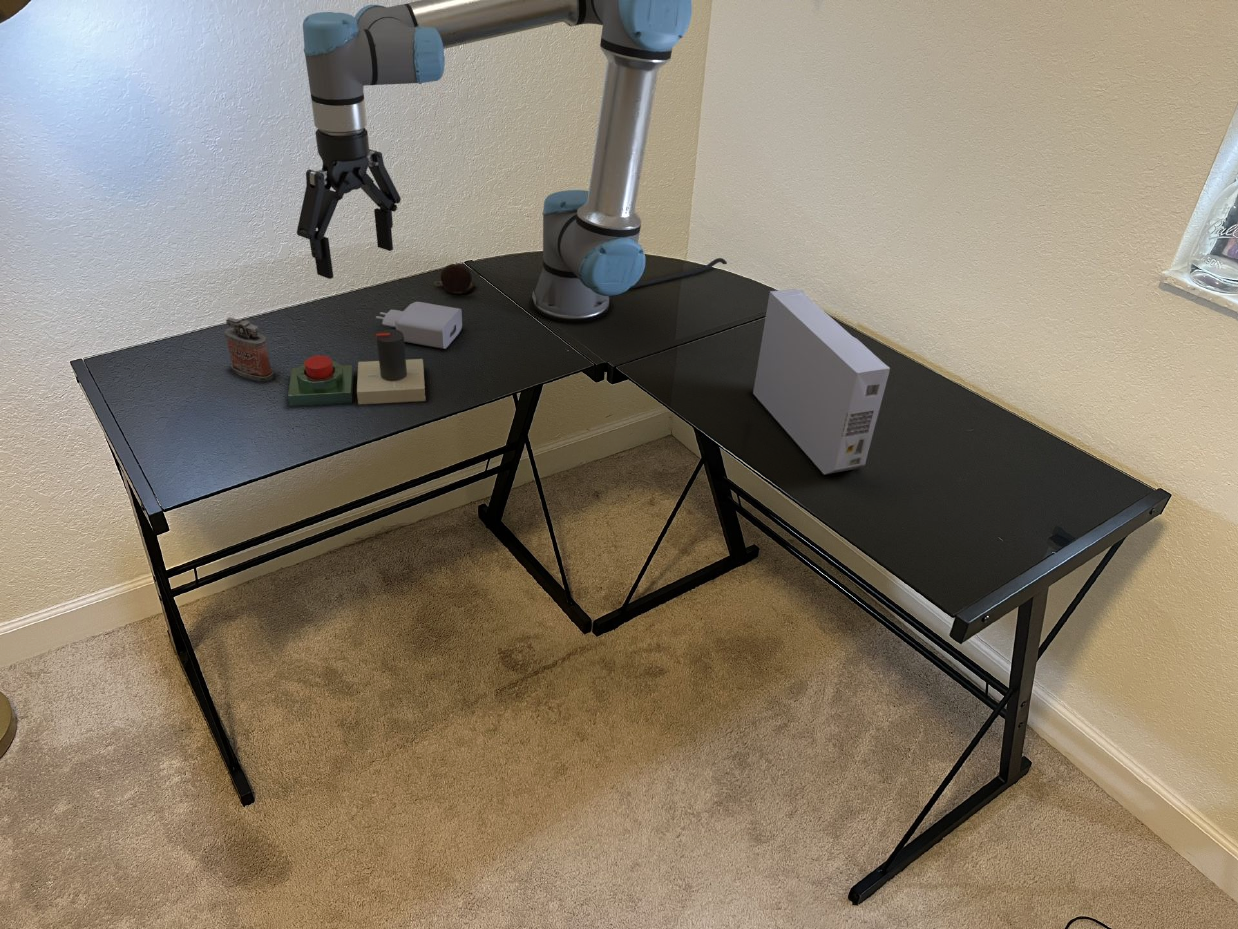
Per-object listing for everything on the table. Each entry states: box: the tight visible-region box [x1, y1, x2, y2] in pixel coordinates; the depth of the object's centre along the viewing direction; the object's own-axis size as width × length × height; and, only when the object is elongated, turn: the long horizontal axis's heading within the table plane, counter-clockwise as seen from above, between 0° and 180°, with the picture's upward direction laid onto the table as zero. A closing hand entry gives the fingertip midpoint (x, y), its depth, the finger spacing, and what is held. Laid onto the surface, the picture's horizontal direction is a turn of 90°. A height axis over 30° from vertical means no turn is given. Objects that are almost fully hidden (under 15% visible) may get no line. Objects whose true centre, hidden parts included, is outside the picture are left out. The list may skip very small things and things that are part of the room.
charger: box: [375, 301, 463, 350], centre depth 177 cm, size 5×9×15 cm
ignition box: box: [287, 360, 355, 408], centre depth 159 cm, size 10×9×4 cm
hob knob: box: [375, 328, 407, 381], centre depth 159 cm, size 4×4×8 cm
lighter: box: [223, 316, 274, 382], centre depth 160 cm, size 8×3×10 cm, turn 65°
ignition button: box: [304, 355, 333, 379], centre depth 157 cm, size 4×4×2 cm
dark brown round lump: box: [434, 261, 475, 295], centre depth 192 cm, size 8×8×7 cm
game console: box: [752, 288, 891, 475], centre depth 152 cm, size 6×27×20 cm, turn 20°
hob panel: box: [356, 358, 426, 405], centre depth 162 cm, size 11×10×3 cm
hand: (356, 262), depth 153 cm, fingers open, 13 cm apart
